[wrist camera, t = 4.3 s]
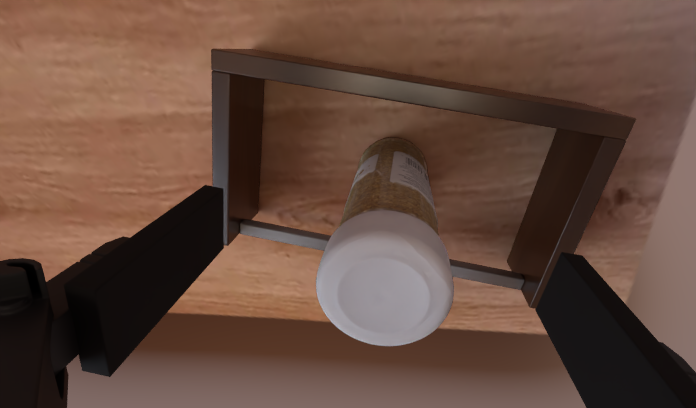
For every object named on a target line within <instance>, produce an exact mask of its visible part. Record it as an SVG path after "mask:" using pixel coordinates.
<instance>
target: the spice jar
mask: <svg viewBox="0 0 696 408" xmlns="http://www.w3.org/2000/svg"><path fill="white" fill-rule="evenodd" d="M316 291H317V297H318V300H319V302H320V305H321V307H322V309H323V311H324V312H325V314H326V316H327V317H328V318H329V319H330V321H331V322H332V323H333V324H334V325H335V326H336V327H337V328H338V329H340V330H341V331H343V332H344V333H346V334H347V335H349V336H351V337H353V338H355V339H357V340H360V341H362V342H366V343H369V344H374V345H380V346H398V345H404V344H408V343H412V342H415V341H417V340H420V339H422V338H424V337H426V336H427V335H429V334H430V333H432V332H433V331H434V330H435V329H437V328H438V327H439V326H440V325H441V323H442V322H443V321H444V319H445V318H446V316H447V315H448V313H449V311H450V308H451V305H452V302H453V295H454V285H453V278H452V272H451V266H450V261H449V257H448V253H447V250H446V248H445V245H444V243H443V242H442V240H441V239H440V237H439V234H438V220H437V215H436V211H435V206H434V202H433V197H432V192H431V188H430V183H429V179H428V175H427V164H426V161H425V158H424V157H423V154H422V153H421V151H420V150H419V149H418V148H417V147H416V146H415V145H413V144H412V143H410V142H408V141H406V140H402V139H400V138H385V139H382V140H379V141H377V142H375V143H374V144H373V145H371V146H370V147H369V148H367V149H366V150H365V152H364V153H363V155H362V157H361V159H360V162H359V165H358V171H357V173H356V176H355V179H354V182H353V185H352V188H351V190H350V193H349V196H348V199H347V202H346V205H345V209H344V214H343V217H342V220H341V223H340V226H339V227H338V228H337V230H336V231H335V232H334V233H333V234H332V236H331V237H330V239H329V241H328V243H327V246H326V248H325V251H324V253H323V256H322V259H321V262H320V265H319V268H318V272H317V278H316Z"/></svg>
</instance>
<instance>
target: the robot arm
mask: <svg viewBox="0 0 696 408" xmlns="http://www.w3.org/2000/svg"><path fill="white" fill-rule="evenodd" d="M223 248H224V189H223V188H218V187H213V186H207V185H205V186H203V187H202V188H200V189H199V190H198V191H196V192H195V193H193V194H192V195H190V196H189V197H188V198H186V199H185V200H183V201H182V202H180V203H179V204H178V205H176V206H175V207H173V208H172V209H170V210H169V211H168V212H166V213H165V214H163V215H162V216H160V217H159V218H158V219H156V220H155V221H153V222H152V223H150V224H149V225H148V226H146V227H145V228H143V229H142V230H141V231H139V232H138V233H136V234H135V235H133V236H132V237H131V238H128V237H121V238H118V239H115V240H113V241H110V242H107V243H105V244H103V245H102V246H100V247H99V248H97V249H96V250H94V251H93V252H92V254H88V255H87V256H85V257H84V258H82V259H81V260H80V262H76V263H75V264H73V265H72V266H70V267H69V268H67V269H66V270H64V271H63V272H61V273H60V274H58V275H57V276H55V277H54V278H52V279H51V280H49V281H48V282H46V281H45V277H44V273H43V269H42V266H41V263H39V262H37V261H35V260H31V259H23V258H21V259H8V260H3V261H0V408H67V394H68V372H67V368H66V366H67V365H68V363H70V362H71V361H72V360H73V359H74V358H75V357H76V356H77V355H78V354H79V358H80V362H81V367H82V370H83V371H86V372H91V373H95V374H100V375H104V376H109V377H110V376H111V375H112V374H113V373H114V372H115V371H116V370H117V368H118V367H119V366H120V365H121V364H122V363H123V362H124V360H125V359H126V358H127V357H128V356H129V355H130V353H131V352H132V351H133V350H134V349H135V348H136V347H137V346H138V344H139V343H140V342H141V341H142V340H143V339H144V338H145V337H146V335H147V334H148V333H149V332H150V331H151V330H152V329H153V328H154V326H155V325H156V324H157V323H158V322H159V321H160V319H161V318H162V317H163V316H164V315H165V314H166V313H167V312H168V311H169V309H170V308H171V307H172V306H173V305H174V304H175V303H176V301H177V300H178V299H179V298H180V297H181V296H182V295H183V293H184V292H185V291H186V290H187V289H188V288H189V287H190V286H191V284H192V283H193V282H194V281H195V280H196V279H197V278H198V276H199V275H200V274H201V273H202V272H203V271H204V270H205V269H206V267H207V266H208V265H209V264H210V263H211V262H212V261H213V259H214V258H215V257H216V256H217V255H218V254H219V253H220V252H221V250H222V249H223ZM535 310H536V312H537V314H538V316H539V318H540V320H541V322H542V323H543V325H544V327H545V329H546V331H547V333H548V335H549V337H550V339H551V341H552V343H553V344H554V346H555V348H556V350H557V352H558V354H559V356H560V358H561V360H562V362H563V364H564V365H565V367H566V369H567V371H568V373H569V375H570V377H571V379H572V381H573V383H574V384H575V386H576V388H577V390H578V392H579V394H580V396H581V398H582V400H583V402H584V404H585V406H586V408H696V372H695V371H694V370H693V369H692V368H691V367H690V366H689V365H688V363H687V362H686V361H685V360H684V359H683V358H682V357H680V356H679V355H678V354H677V353H675V352H674V351H673V350H671V349H670V348H669V347H667V346H666V345H665V344H664V343H661V342H658V341H657V339H656V338H655V337H654V336H653V335H652V334H651V333H650V331H649V330H648V329H647V328H646V327H645V326H644V325H643V324H642V322H641V321H640V320H639V319H638V318H637V317H636V316H635V315H634V313H633V312H632V311H631V310H630V309H629V308H628V307H627V306H626V304H625V303H624V302H623V301H622V300H621V299H620V298H619V297H618V295H617V294H616V293H615V292H614V291H613V290H612V289H611V288H610V286H609V285H608V284H607V283H606V282H605V281H604V280H603V278H602V277H601V276H600V275H599V274H598V273H597V272H596V271H595V269H594V268H593V267H592V266H591V265H590V264H589V263H588V262H587V260H586V259H585V258H584V257H583V256H581V255H575V254H570V253H565V252H561V254H560V256H559V258H558V261H557V263H556V265H555V267H554V270H553V272H552V274H551V276H550V278H549V281H548V283H547V285H546V287H545V289H544V292H543V294H542V296H541V298H540V300H539V303H538V305H537V307H536V309H535Z"/></svg>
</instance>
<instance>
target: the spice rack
mask: <svg viewBox="0 0 696 408" xmlns="http://www.w3.org/2000/svg"><path fill="white" fill-rule="evenodd" d="M211 63H212V70H214V71H212V156H213V187H218V188H223V189H224V245H227V246H228V245H229V244H230V243H231V242H232V241H233V240H234V239H235V238H236V236H237V235H238V234H239V233H240V234H243V235H248V236H253V237H258V238H263V239H268V240H273V241H278V242H283V243H288V244H293V245H298V246H303V247H308V248H313V249H318V250H323V251H325V248H326V246H327V243H328V241H329V239H330V237H331V236H330V235H325V234H319V233H314V232H309V231H304V230H299V229H294V228H289V227H284V226H279V225H274V224H269V223H264V222H259V221H253V220H252V219H253V217H254V216H255V215H256V214H257V213H258V200H259V179H260V158H261V137H262V116H263V95H264V79H267V80H273V81H279V82H285V83H291V84H297V85H303V86H308V87H314V88H320V89H326V90H332V91H338V92H344V93H350V94H356V95H362V96H368V97H374V98H380V99H385V100H391V101H397V102H403V103H409V104H415V105H421V106H427V107H433V108H439V109H445V110H451V111H457V112H463V113H468V114H474V115H480V116H486V117H492V118H498V119H504V120H510V121H516V122H522V123H528V124H534V125H540V126H546V127H551V128H557V132H556V134H555V137H554V139H553V142H552V145H551V147H550V150H549V152H548V155H547V158H546V160H545V163H544V166H543V168H542V171H541V173H540V176H539V179H538V181H537V184H536V186H535V189H534V192H533V194H532V197H531V200H530V202H529V205H528V207H527V210H526V213H525V215H524V218H523V220H522V223H521V226H520V228H519V231H518V233H517V236H516V239H515V241H514V244H513V247H512V249H511V252H510V254H509V257H508V260H507V263H508V265H509V267H510V269H511V271H507V270H502V269H497V268H492V267H487V266H482V265H477V264H472V263H467V262H461V261H456V260H451V259H449V261H450V266H451V272H452V276H453V277H458V278H463V279H468V280H473V281H478V282H483V283H488V284H493V285H498V286H503V287H508V288H513V289H518V290H521V291H522V293H523V295H524V297H525V299H526V301H527V303H528V305H529V307H530V308H535V309H536V307H537V305H538V303H539V300H540V298H541V296H542V294H543V292H544V289H545V287H546V285H547V283H548V281H549V278H550V276H551V274H552V272H553V270H554V267H555V265H556V263H557V261H558V258H559V256H560V254H561V252H565V253H570V254H574V252H575V250H576V248H577V245H578V243H579V241H580V239H581V237H582V235H583V233H584V230H585V228H586V226H587V224H588V222H589V220H590V218H591V215H592V213H593V211H594V209H595V207H596V205H597V203H598V200H599V198H600V196H601V194H602V192H603V190H604V188H605V185H606V183H607V181H608V179H609V177H610V175H611V173H612V170H613V168H614V166H615V164H616V162H617V160H618V158H619V155H620V153H621V151H622V149H623V147H624V145H625V143H626V139H627V138H628V136H629V134H630V132H631V129H632V127H633V125H634V123H635V121H636V119H635V118H633V117H629V116H626V115H622V114H619V113H615V112H612V111H608V110H605V109H601V108H598V107H594V106H591V105H588V104H583V103H577V102H571V101H565V100H559V99H553V98H547V97H540V96H534V95H528V94H522V93H516V92H510V91H504V90H498V89H491V88H485V87H479V86H473V85H467V84H461V83H455V82H449V81H442V80H436V79H430V78H424V77H418V76H412V75H406V74H400V73H393V72H387V71H381V70H375V69H369V68H363V67H357V66H351V65H344V64H338V63H332V62H326V61H320V60H314V59H308V58H302V57H295V56H289V55H283V54H277V53H271V52H265V51H259V50H253V49H212V50H211Z"/></svg>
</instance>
